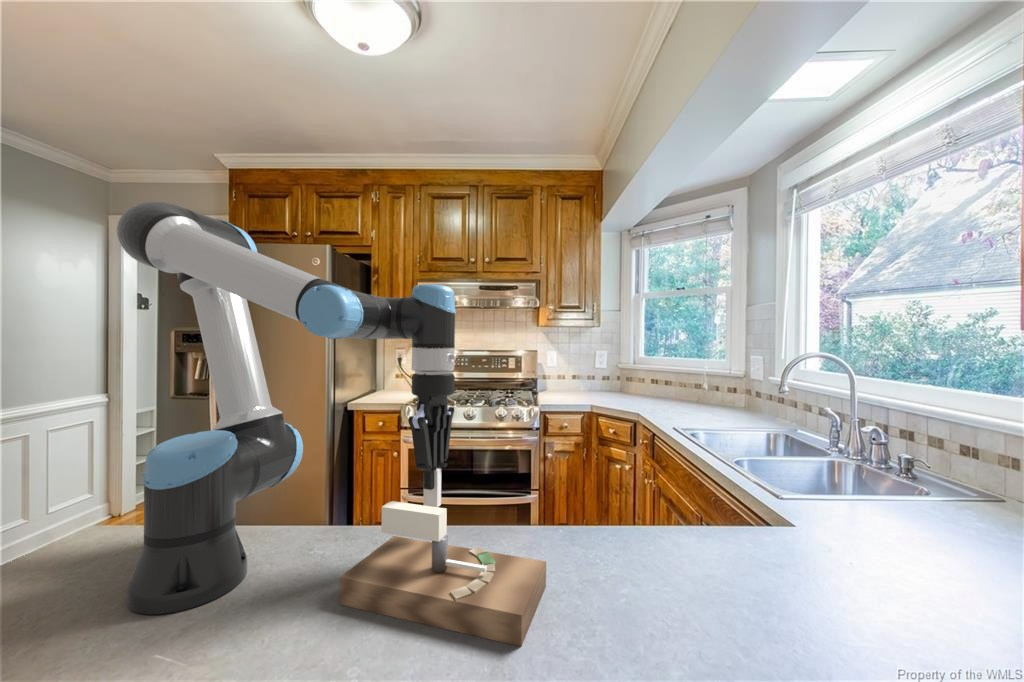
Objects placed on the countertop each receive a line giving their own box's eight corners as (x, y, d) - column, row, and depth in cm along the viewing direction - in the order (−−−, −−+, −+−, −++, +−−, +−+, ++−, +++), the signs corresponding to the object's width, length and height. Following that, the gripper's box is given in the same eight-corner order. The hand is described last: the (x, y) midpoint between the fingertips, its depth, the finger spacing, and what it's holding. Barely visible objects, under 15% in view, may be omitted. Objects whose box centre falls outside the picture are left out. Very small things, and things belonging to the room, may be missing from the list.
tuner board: (339, 604, 62) (339, 575, 62) (394, 557, 76) (395, 533, 76) (521, 646, 54) (521, 612, 54) (546, 584, 68) (546, 558, 68)
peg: (381, 561, 66) (381, 506, 66) (390, 553, 69) (391, 500, 69) (482, 580, 61) (483, 521, 61) (488, 571, 63) (489, 514, 64)
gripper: (435, 375, 68) (433, 523, 67) (467, 370, 80) (466, 495, 80) (394, 374, 70) (393, 516, 70) (432, 369, 82) (431, 490, 82)
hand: (432, 505), depth 75 cm, fingers closed
